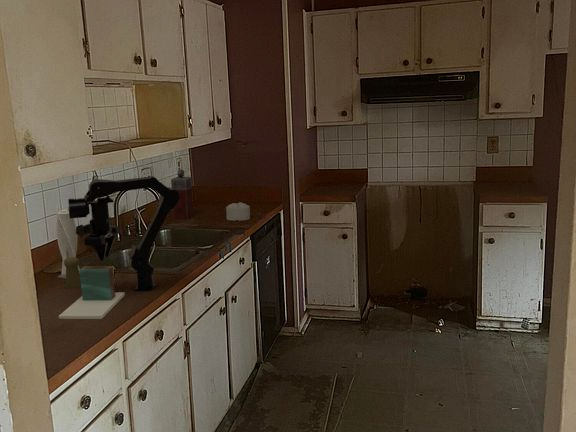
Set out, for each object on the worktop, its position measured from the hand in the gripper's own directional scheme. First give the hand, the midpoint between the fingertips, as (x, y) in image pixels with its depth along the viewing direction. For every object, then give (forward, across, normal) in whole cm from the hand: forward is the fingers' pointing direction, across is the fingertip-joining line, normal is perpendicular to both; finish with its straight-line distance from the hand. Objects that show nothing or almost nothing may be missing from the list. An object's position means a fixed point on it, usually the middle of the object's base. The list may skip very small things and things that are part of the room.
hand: (104, 258), depth 203 cm
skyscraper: (+13, -21, -23) cm, 34 cm away
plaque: (+12, +8, 0) cm, 14 cm away
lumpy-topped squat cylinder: (+13, -124, +30) cm, 128 cm away
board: (+13, +13, 0) cm, 18 cm away
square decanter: (+13, -128, -4) cm, 129 cm away
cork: (+13, -8, -16) cm, 22 cm away
